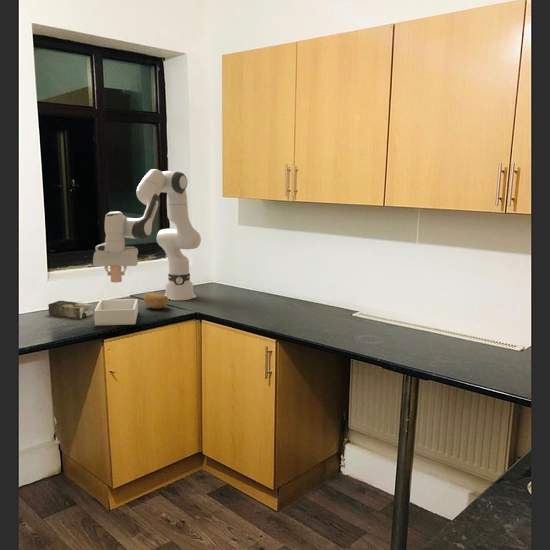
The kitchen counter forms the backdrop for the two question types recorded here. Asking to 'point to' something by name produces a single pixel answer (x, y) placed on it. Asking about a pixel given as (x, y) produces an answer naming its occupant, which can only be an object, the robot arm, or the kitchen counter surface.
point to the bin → (116, 312)
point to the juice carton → (70, 309)
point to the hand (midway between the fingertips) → (116, 275)
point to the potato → (155, 300)
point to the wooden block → (115, 273)
